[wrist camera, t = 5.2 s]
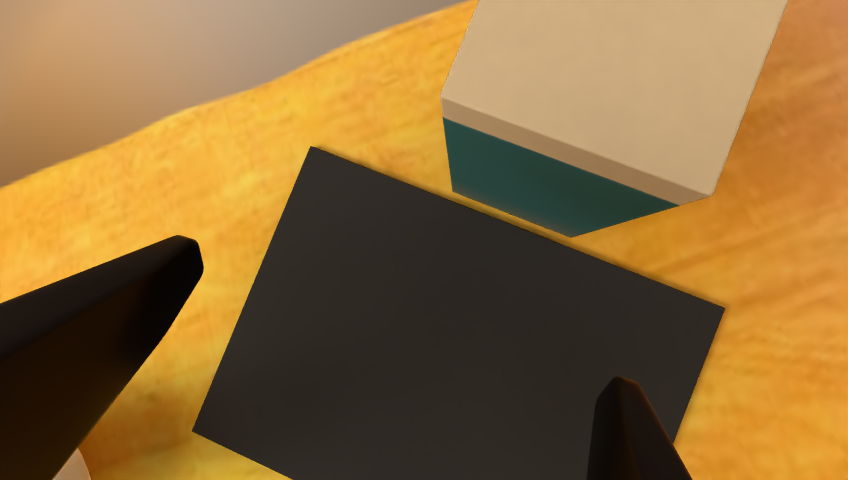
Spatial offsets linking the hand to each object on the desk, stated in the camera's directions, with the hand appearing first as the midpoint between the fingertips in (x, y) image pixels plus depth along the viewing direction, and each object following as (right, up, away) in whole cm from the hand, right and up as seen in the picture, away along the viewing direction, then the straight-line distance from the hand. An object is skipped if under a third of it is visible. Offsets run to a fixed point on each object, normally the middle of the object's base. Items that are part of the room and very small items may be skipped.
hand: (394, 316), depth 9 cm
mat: (+2, -5, +13) cm, 14 cm away
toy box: (+6, +6, +14) cm, 16 cm away
